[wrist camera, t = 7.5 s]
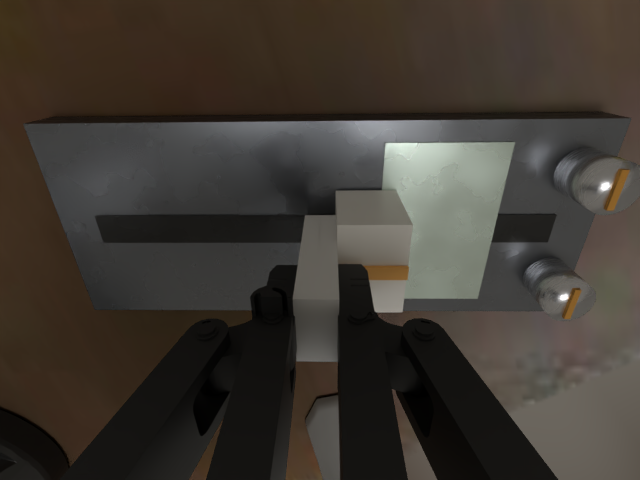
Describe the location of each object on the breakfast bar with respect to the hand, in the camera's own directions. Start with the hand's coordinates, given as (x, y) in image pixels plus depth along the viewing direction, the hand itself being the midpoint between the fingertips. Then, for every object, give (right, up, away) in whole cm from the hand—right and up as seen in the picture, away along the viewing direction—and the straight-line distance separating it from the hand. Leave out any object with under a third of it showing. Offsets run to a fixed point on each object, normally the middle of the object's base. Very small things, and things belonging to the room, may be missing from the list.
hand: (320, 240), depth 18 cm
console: (0, +2, +3) cm, 4 cm away
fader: (+2, +1, +1) cm, 3 cm away
